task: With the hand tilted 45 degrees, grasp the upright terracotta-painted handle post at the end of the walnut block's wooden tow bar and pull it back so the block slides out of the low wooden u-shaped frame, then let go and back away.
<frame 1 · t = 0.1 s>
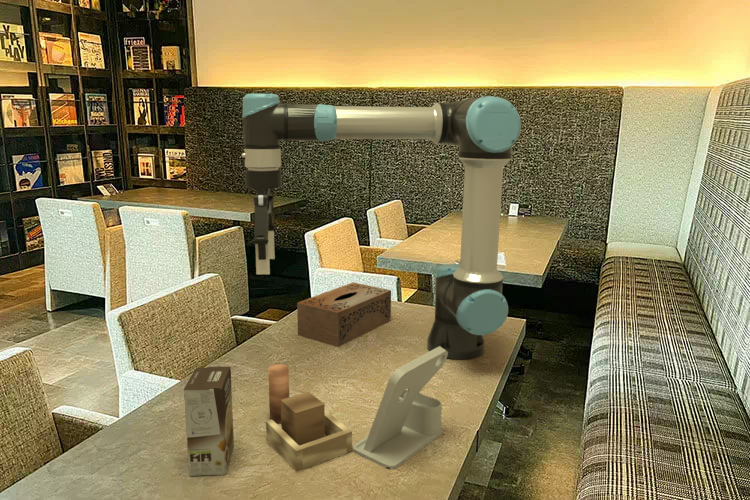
hand: (266, 266, 126), 28 cm above the table, tool pointing down, fingers open, 13 cm apart
phone holder: (399, 441, 109), on the table
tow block: (279, 418, 117), on the table
tissue box cover: (346, 329, 168), on the table
wooden u-shaped frame: (307, 444, 107), on the table
coffee box: (212, 461, 102), on the table
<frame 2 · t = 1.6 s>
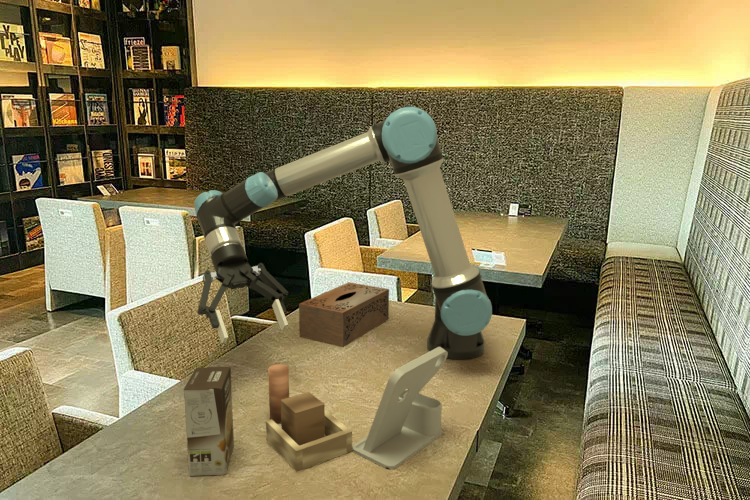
hand: (255, 334, 122), 15 cm above the table, tool tilted 45°, fingers open, 13 cm apart
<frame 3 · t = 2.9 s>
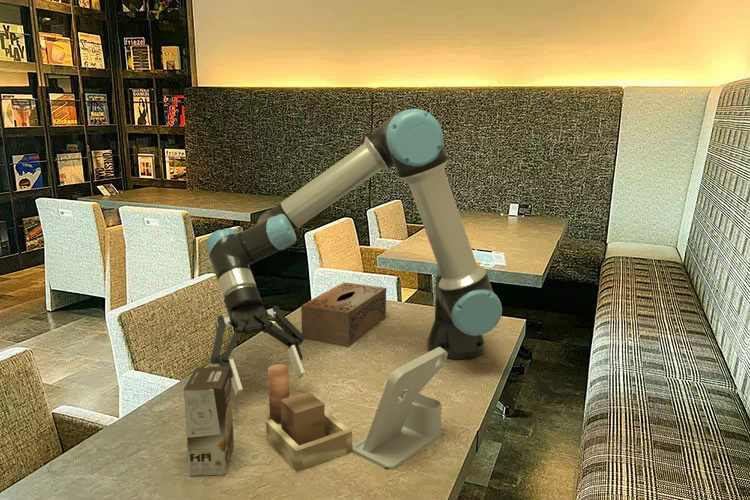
hand: (271, 383, 116), 7 cm above the table, tool tilted 45°, fingers open, 13 cm apart
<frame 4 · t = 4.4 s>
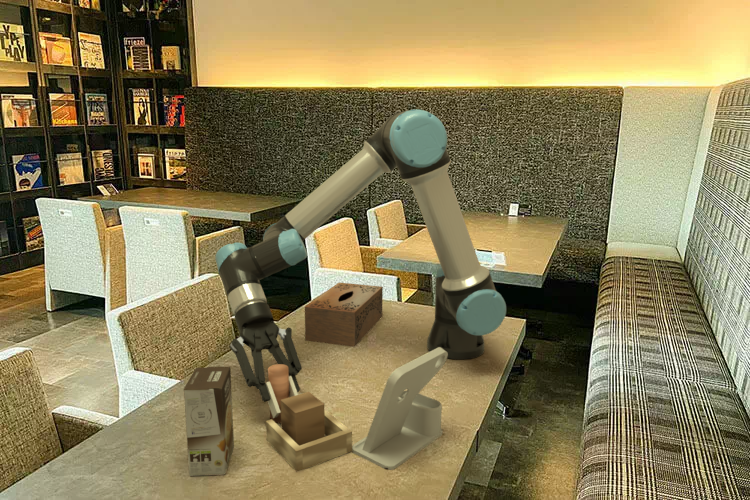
hand: (287, 411, 113), 3 cm above the table, tool tilted 45°, fingers closed on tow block, 4 cm apart
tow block: (279, 418, 117), on the table, touching gripper
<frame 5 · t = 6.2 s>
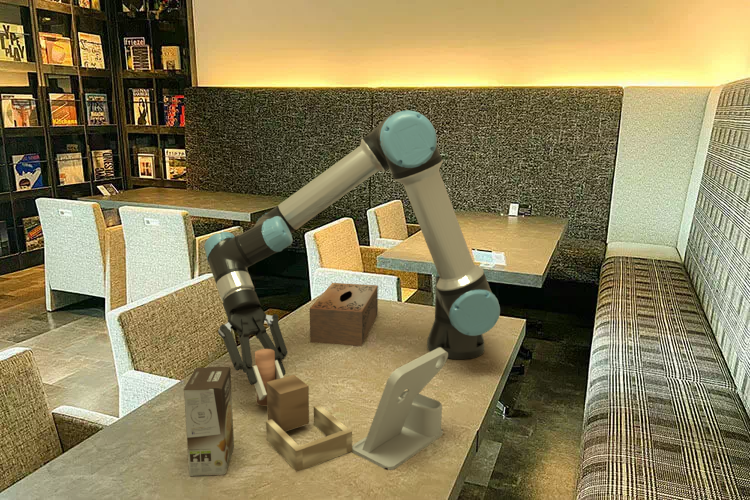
hand: (273, 394, 117), 5 cm above the table, tool tilted 45°, fingers closed on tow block, 4 cm apart
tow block: (266, 401, 121), point 1 cm above the table, touching gripper
when the fingers open (4 cm above the table, at t = 8.3 s): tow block moves 1 cm, on the table.
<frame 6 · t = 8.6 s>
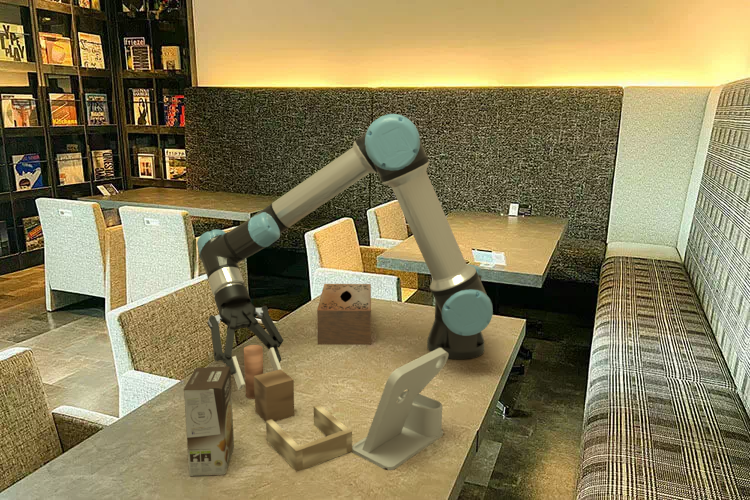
hand: (261, 381, 122), 5 cm above the table, tool tilted 45°, fingers open, 8 cm apart
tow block: (255, 394, 126), on the table
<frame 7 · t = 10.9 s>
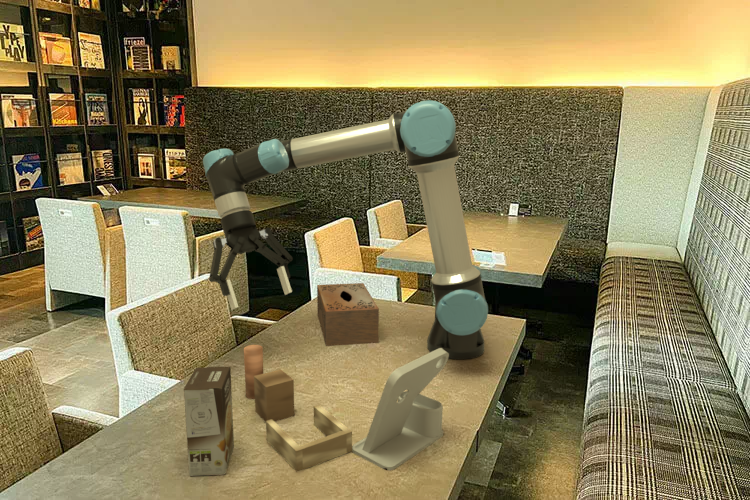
hand: (262, 300, 132), 19 cm above the table, tool tilted 25°, fingers open, 13 cm apart
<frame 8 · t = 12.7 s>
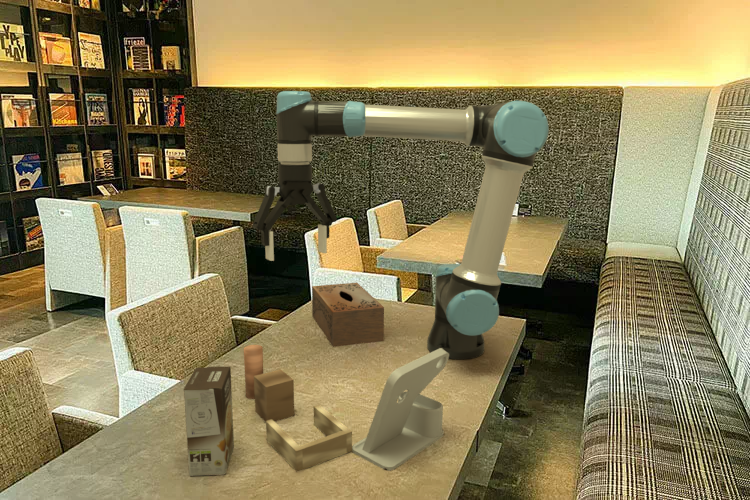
hand: (296, 255, 132), 29 cm above the table, tool pointing down, fingers open, 13 cm apart
at the end: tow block moved 12.4 cm from its start; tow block touching table; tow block inside the target area (1.1 cm from its centre), on the table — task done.
